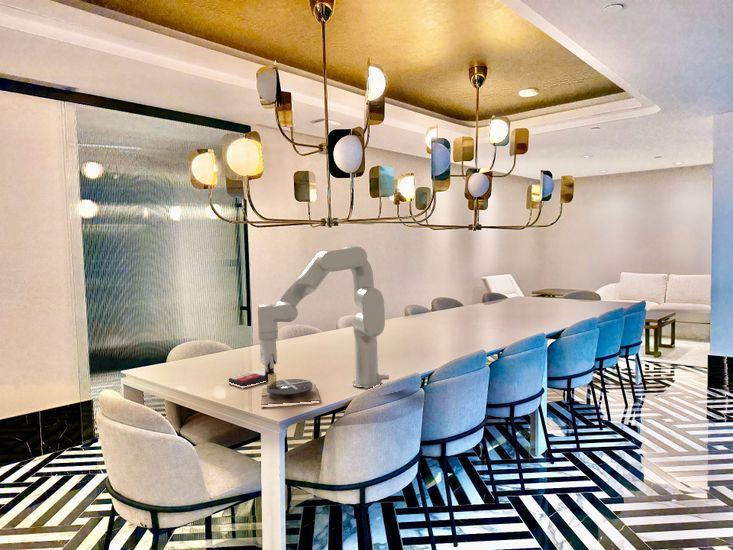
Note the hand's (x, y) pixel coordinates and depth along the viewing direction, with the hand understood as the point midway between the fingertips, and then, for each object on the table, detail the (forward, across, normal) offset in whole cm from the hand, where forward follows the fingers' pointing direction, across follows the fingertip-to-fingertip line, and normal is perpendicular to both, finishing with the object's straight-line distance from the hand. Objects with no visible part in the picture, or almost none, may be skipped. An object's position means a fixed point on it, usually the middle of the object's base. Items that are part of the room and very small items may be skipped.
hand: (269, 380), depth 202 cm
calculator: (+7, -26, -3) cm, 28 cm away
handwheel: (+5, +3, +7) cm, 9 cm away
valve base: (+7, +4, +7) cm, 10 cm away
